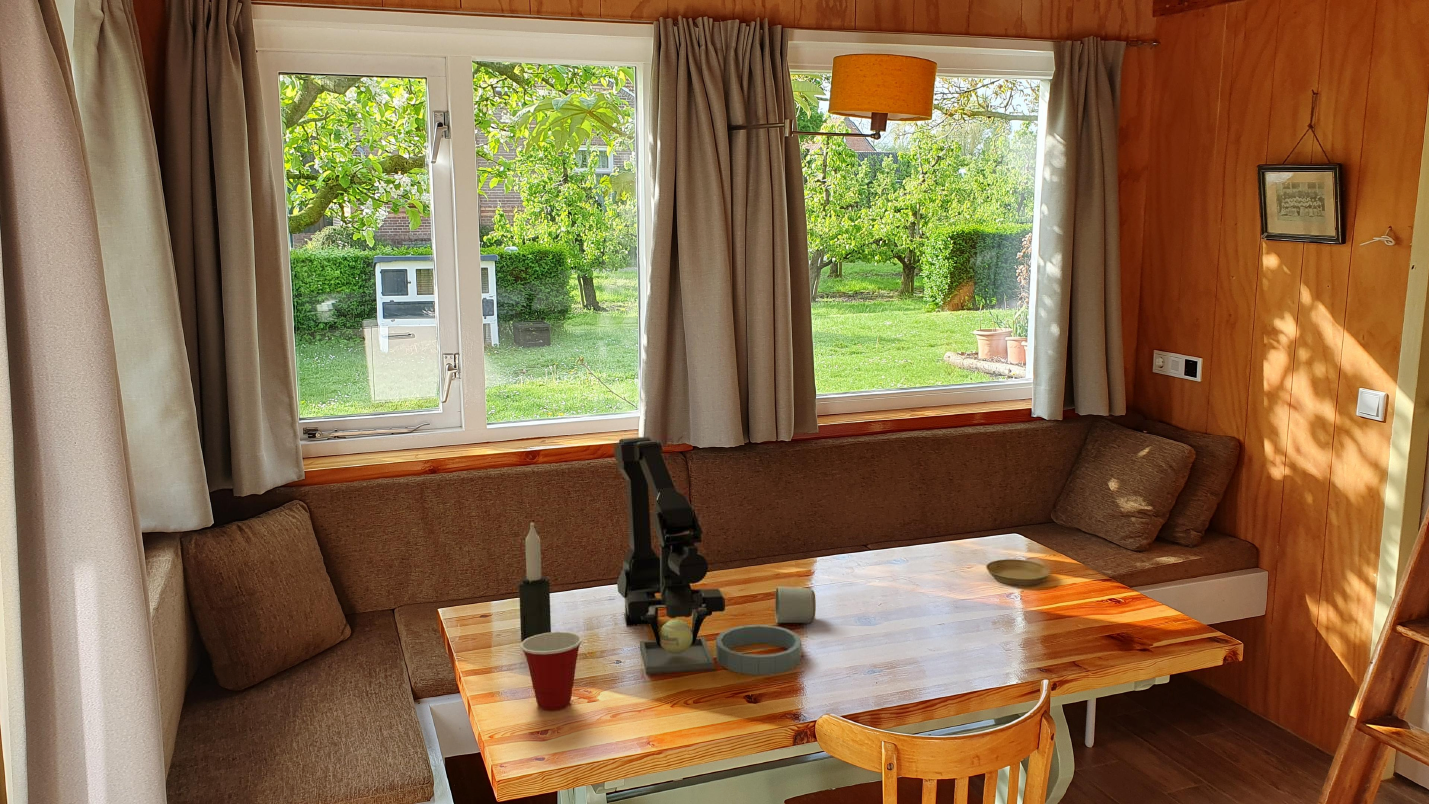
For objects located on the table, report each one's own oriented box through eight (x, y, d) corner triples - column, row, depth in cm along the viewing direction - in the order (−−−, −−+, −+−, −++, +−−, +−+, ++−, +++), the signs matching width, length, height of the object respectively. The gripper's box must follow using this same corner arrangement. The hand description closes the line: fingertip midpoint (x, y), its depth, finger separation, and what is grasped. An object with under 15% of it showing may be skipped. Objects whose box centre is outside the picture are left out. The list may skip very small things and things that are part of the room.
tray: (646, 674, 207) (646, 667, 206) (639, 648, 219) (639, 641, 219) (714, 669, 209) (714, 662, 208) (704, 644, 221) (704, 637, 221)
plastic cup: (562, 685, 202) (560, 623, 200) (595, 704, 194) (594, 640, 192) (510, 702, 195) (508, 638, 193) (543, 723, 187) (541, 656, 185)
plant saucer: (1060, 577, 261) (1061, 567, 261) (1033, 593, 250) (1033, 582, 250) (1003, 565, 271) (1003, 555, 270) (974, 580, 260) (974, 569, 259)
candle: (553, 638, 225) (549, 520, 221) (541, 647, 220) (537, 527, 216) (531, 635, 227) (526, 518, 223) (519, 644, 222) (514, 524, 218)
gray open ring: (724, 677, 205) (724, 659, 205) (710, 644, 221) (710, 627, 221) (809, 671, 208) (809, 653, 207) (790, 638, 224) (790, 622, 223)
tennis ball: (653, 619, 212) (682, 625, 209) (672, 613, 218) (700, 619, 214) (651, 652, 212) (680, 658, 209) (670, 645, 218) (699, 651, 214)
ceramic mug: (816, 627, 230) (817, 592, 229) (778, 628, 230) (778, 593, 228) (809, 610, 241) (809, 576, 239) (772, 611, 240) (772, 577, 239)
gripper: (629, 584, 202) (631, 664, 204) (729, 578, 205) (730, 657, 207) (625, 565, 213) (626, 641, 215) (720, 560, 215) (720, 635, 218)
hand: (675, 644), depth 214 cm, fingers closed on tennis ball, 6 cm apart
